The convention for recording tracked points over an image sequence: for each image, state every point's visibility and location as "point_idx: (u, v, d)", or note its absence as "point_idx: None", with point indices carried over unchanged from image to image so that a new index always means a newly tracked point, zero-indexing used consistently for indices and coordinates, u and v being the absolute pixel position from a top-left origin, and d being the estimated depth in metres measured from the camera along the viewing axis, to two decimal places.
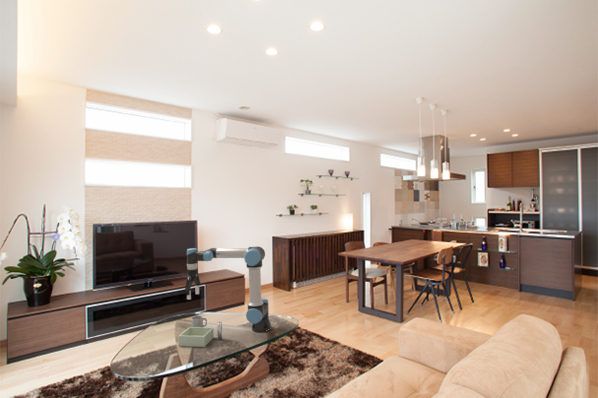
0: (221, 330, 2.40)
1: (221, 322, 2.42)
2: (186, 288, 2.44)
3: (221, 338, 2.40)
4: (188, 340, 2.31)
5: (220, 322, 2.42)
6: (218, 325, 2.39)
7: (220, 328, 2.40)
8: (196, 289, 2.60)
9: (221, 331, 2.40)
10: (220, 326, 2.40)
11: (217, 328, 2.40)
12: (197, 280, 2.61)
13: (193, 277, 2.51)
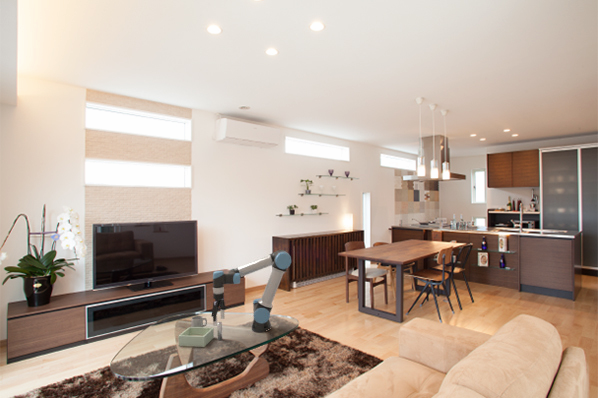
0: (221, 330, 2.40)
1: (221, 322, 2.42)
2: (213, 314, 2.31)
3: (221, 338, 2.40)
4: (188, 340, 2.31)
5: (220, 322, 2.42)
6: (218, 325, 2.39)
7: (220, 328, 2.40)
8: (221, 313, 2.47)
9: (221, 331, 2.40)
10: (220, 326, 2.40)
11: (217, 328, 2.40)
12: (222, 304, 2.48)
13: (219, 302, 2.39)
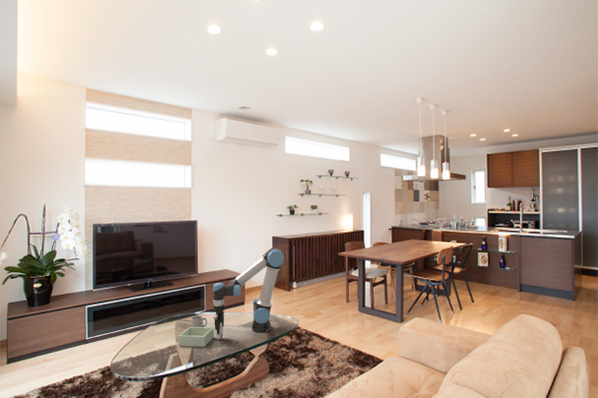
0: (221, 330, 2.40)
1: (221, 322, 2.41)
2: (216, 328, 2.36)
3: (221, 338, 2.40)
4: (188, 340, 2.31)
5: (220, 322, 2.42)
6: None
7: (220, 328, 2.40)
8: None
9: (221, 331, 2.40)
10: (220, 326, 2.40)
11: None
12: None
13: (220, 314, 2.39)
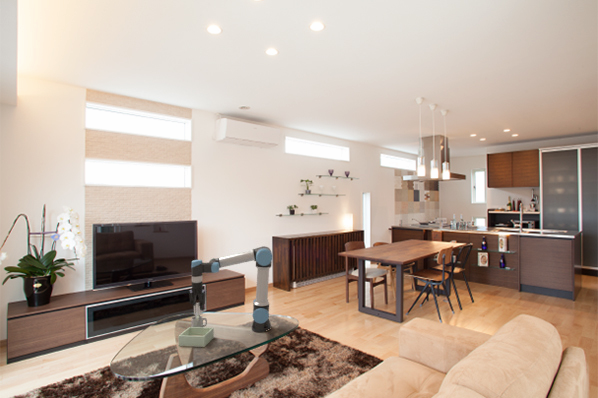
0: (196, 311, 2.39)
1: (197, 303, 2.39)
2: None
3: (196, 319, 2.39)
4: (188, 340, 2.31)
5: (198, 303, 2.40)
6: None
7: (195, 308, 2.40)
8: None
9: (196, 312, 2.39)
10: (195, 306, 2.40)
11: None
12: None
13: (193, 291, 2.39)
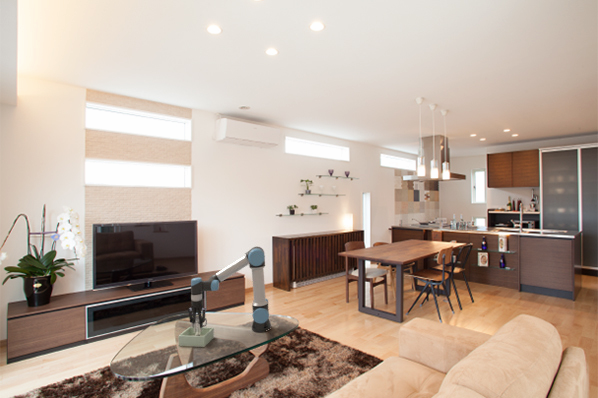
0: (196, 329, 2.39)
1: (197, 322, 2.39)
2: None
3: None
4: (188, 340, 2.31)
5: (198, 321, 2.40)
6: (195, 323, 2.41)
7: (195, 327, 2.40)
8: None
9: (196, 330, 2.39)
10: (195, 325, 2.40)
11: None
12: None
13: (193, 309, 2.39)
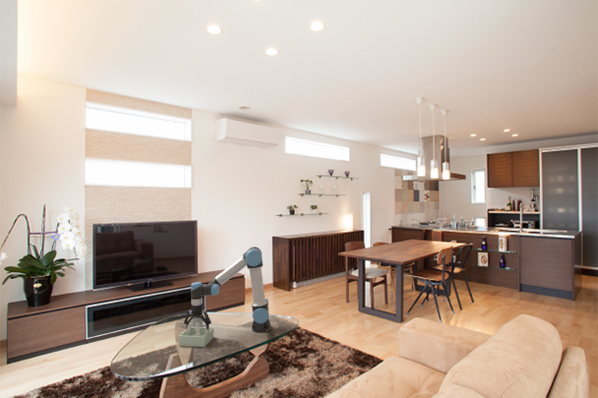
0: (195, 331, 2.39)
1: (197, 324, 2.39)
2: None
3: None
4: (188, 340, 2.31)
5: (197, 324, 2.40)
6: (195, 325, 2.41)
7: (195, 329, 2.40)
8: None
9: (195, 332, 2.39)
10: (195, 327, 2.39)
11: None
12: None
13: (193, 313, 2.39)
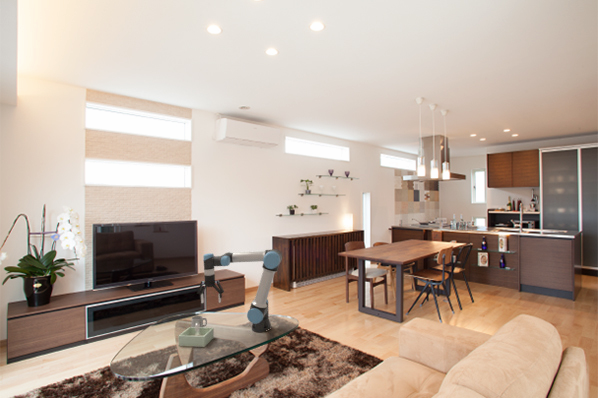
0: (195, 331, 2.39)
1: (197, 324, 2.39)
2: None
3: None
4: (188, 340, 2.31)
5: (197, 324, 2.40)
6: (195, 325, 2.41)
7: (195, 329, 2.40)
8: None
9: (195, 332, 2.39)
10: (195, 327, 2.39)
11: None
12: None
13: (206, 283, 2.48)
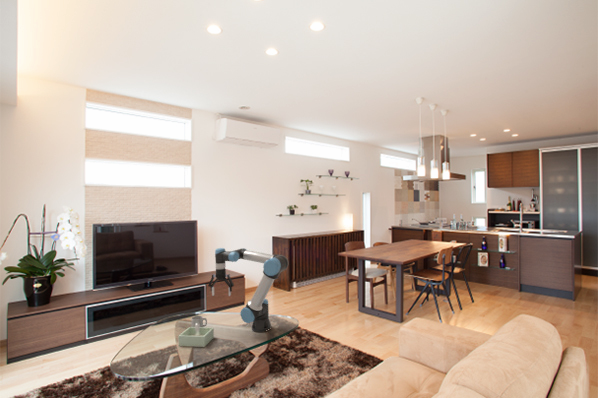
0: (195, 331, 2.39)
1: (197, 324, 2.39)
2: None
3: None
4: (188, 340, 2.31)
5: (197, 324, 2.40)
6: (195, 325, 2.41)
7: (195, 329, 2.40)
8: None
9: (195, 332, 2.39)
10: (195, 327, 2.39)
11: None
12: (230, 282, 2.57)
13: (217, 276, 2.57)
